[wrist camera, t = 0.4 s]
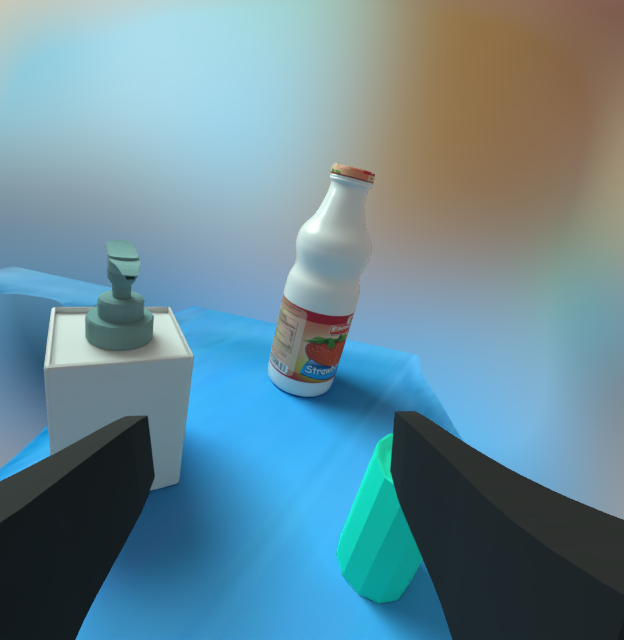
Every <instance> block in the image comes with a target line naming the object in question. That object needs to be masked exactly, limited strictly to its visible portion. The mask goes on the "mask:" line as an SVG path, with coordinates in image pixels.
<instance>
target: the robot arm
mask: <svg viewBox="0 0 624 640" xmlns="http://www.w3.org/2000/svg"><path fill="white" fill-rule="evenodd" d="M390 472H391V476H392V480H393V483H394V487H395V491H396V494H397V497H398V501H399V504H400V506H401V509H402V511H403V514H404V516H405V518H406V521H407V523H408V526H409V528H410V530H411V533H412V535H413V537H414V540H415V542H416V544H417V547H418V549H419V551H420V554H421V556H422V558H423V561H424V563H425V565H426V568H427V570H428V572H429V575H430V577H431V579H432V582H433V584H434V587H435V589H436V592H437V595H438V597H439V600H440V603H441V605H442V608H443V611H444V614H445V618H446V621H447V624H448V627H449V630H450V633H451V636H452V639H453V640H624V520H623V519H620V518H617V517H615V516H612V515H609V514H607V513H604V512H602V511H599V510H597V509H594V508H592V507H589V506H587V505H585V504H582V503H580V502H578V501H575V500H573V499H570V498H568V497H566V496H564V495H561V494H559V493H557V492H555V491H552V490H550V489H548V488H546V487H544V486H542V485H540V484H538V483H536V482H534V481H532V480H530V479H527V478H526V477H524V476H521V475H520V474H518V473H516V472H514V471H512V470H510V469H508V468H506V467H505V466H503V465H501V464H500V463H498V462H496V461H494V460H493V459H491V458H489V457H487V456H486V455H484V454H482V453H481V452H479V451H477V450H476V449H474V448H472V447H471V446H469V445H468V444H466V443H465V442H463V441H461V440H460V439H458V438H457V437H455V436H454V435H452V434H451V433H449V432H448V431H446V430H444V429H443V428H441V427H440V426H438V425H437V424H435V423H434V422H432V421H431V420H429V419H428V418H426V417H424V416H423V415H421V414H419V413H417V412H415V411H408V412H395V418H394V430H393V442H392V454H391V466H390ZM154 478H155V473H154V464H153V456H152V447H151V438H150V430H149V421H148V416H125V417H122V418H120V419H118V420H116V421H114V422H112V423H110V424H108V425H106V426H104V427H102V428H100V429H99V430H97V431H95V432H93V433H91V434H89V435H88V436H86V437H84V438H82V439H80V440H79V441H77V442H75V443H73V444H71V445H69V446H68V447H66V448H64V449H62V450H60V451H59V452H57V453H55V454H53V455H51V456H49V457H47V458H45V459H43V460H41V461H39V462H38V463H36V464H34V465H32V466H30V467H28V468H26V469H24V470H22V471H20V472H18V473H16V474H14V475H12V476H10V477H8V478H6V479H4V480H2V481H0V640H75V639H76V637H77V635H78V632H79V630H80V628H81V625H82V623H83V621H84V619H85V617H86V615H87V613H88V611H89V609H90V607H91V605H92V603H93V601H94V599H95V597H96V595H97V593H98V592H99V590H100V588H101V586H102V584H103V582H104V581H105V579H106V577H107V575H108V573H109V571H110V569H111V568H112V566H113V564H114V562H115V560H116V558H117V557H118V555H119V553H120V551H121V549H122V547H123V546H124V544H125V542H126V540H127V538H128V536H129V534H130V533H131V531H132V529H133V527H134V525H135V523H136V521H137V519H138V517H139V516H140V514H141V512H142V509H143V507H144V504H145V502H146V499H147V497H148V494H149V492H150V489H151V486H152V484H153V481H154Z"/></svg>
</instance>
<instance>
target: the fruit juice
mask: <svg viewBox="0 0 624 640" xmlns="http://www.w3.org/2000/svg"><path fill="white" fill-rule="evenodd" d="M374 176H375V174H374V173H371V172H368V171H365V170H361V169H357V168H354V167H349V166H345V165H341V164H336V163H334V164H333V166H332V168H331V174H330V179H331V185H330V188H329V190H328V193H327V195H326V197H325V199H324V201H323V202H322V204H321V206H320V207H319V209H318V211H317V212H316V213H315V214H314V216H313V217H311V218H310V219H309V220H308V221H307V222H306V223H305V224H304V225H303V226H302V227H301V229H300V231H299V233H298V236H297V240H296V262H295V265H294V266H293V268H292V269H291V270H290V272H289V275H288V278H287V281H286V285H285V289H284V294H283V299H282V304H281V308H280V313H279V317H278V322H277V327H276V331H275V336H274V340H273V345H272V350H271V354H270V359H269V364H268V374H269V377H270V379H271V381H272V382H273V383H274V384H275V385H276V386H277V387H279V388H280V389H282V390H283V391H285V392H288V393H290V394H293V395H297V396H304V397H313V396H319V395H322V394H324V393H325V392H327V391H328V390H329V388H330V387H331V385H332V383H333V380H334V377H335V374H336V371H337V367H338V364H339V361H340V358H341V354H342V351H343V348H344V345H345V341H346V338H347V335H348V332H349V328H350V325H351V322H352V318H353V315H354V312H355V309H356V306H357V302H358V298H359V292H360V285H359V279H360V276H361V274H362V272H363V270H364V269H365V267H366V266H367V264H368V262H369V259H370V255H371V249H372V245H371V241H370V237H369V234H368V232H367V228H366V224H365V202H366V195H367V192H368V190H369V189H371V186H372V183H373V182H374Z"/></svg>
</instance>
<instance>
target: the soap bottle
mask: <svg viewBox="0 0 624 640" xmlns="http://www.w3.org/2000/svg"><path fill="white" fill-rule="evenodd" d="M106 249H107V253H108V254H107V260H108V261H107V277H108V279H109V280H110V282H111V283H112V290H111V291H106V292H103V293H102V294H100V296H99V298H98V300H97V306H96V307H54V308H52V310H51V316H50V325H49V332H48V340H47V348H46V356H45V364H44V377H45V391H46V404H47V416H48V430H49V442H50V455H53V454H55V453H57V452H59V451H60V450H62V449H64V448H66V447H68V446H69V445H71V444H73V443H75V442H77V441H79V440H80V439H82V438H84V437H86V436H88V435H89V434H91V433H93V432H95V431H97V430H99V429H100V428H102V427H104V426H106V425H108V424H110V423H112V422H114V421H116V420H118V419H120V418H122V417H125V416H148V421H149V430H150V438H151V447H152V456H153V464H154V473H155V478H154V481H153V484H152V486H151V489H150V491H152V490H156V489H160V488H163V487H167V486H171V485H174V484H177V483H178V482H179V479H180V470H181V462H182V453H183V445H184V436H185V428H186V419H187V411H188V402H189V394H190V386H191V377H192V369H193V360H194V356H193V354H192V352H191V350H190V348H189V346H188V344H187V342H186V339H185V337H184V335H183V333H182V331H181V329H180V327H179V325H178V323H177V321H176V318H175V316H174V314H173V312H172V310H171V308H169V307H144V299H143V297H142V296H141V295H140V294H138V293H135V292H131V285H132V284H133V283H134V282H135V280H136V278H137V276H138V273H139V269H140V264H141V262H140V260H139V256H138V254H137V251H136V248H135V246H134V245H133V244H132V243H129V242H126V241H122V240H113V241H109V242H107V244H106Z"/></svg>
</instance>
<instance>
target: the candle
mask: <svg viewBox="0 0 624 640" xmlns="http://www.w3.org/2000/svg"><path fill="white" fill-rule="evenodd" d="M392 442H393V434H392V433H389V434H388V435H387V436H385V437H384V438H383V439H381V440H380V441H378V443H377V445H376V448H375V450H374V453H373V455H372V458H371V460H370V463H369V465H368V468H367V470H366V473H365V475H364V478H363V480H362V483H361V485H360V488H359V490H358V493H357V495H356V498H355V500H354V503H353V505H352V508H351V510H350V513H349V515H348V518H347V520H346V523H345V525H344V528H343V530H342V533H341V535H340V539H339V543H338V548H337V553H336V556H337V559H338V562H339V566H340V569H341V572H342V576H343V577H344V578H345V579H346V580H347V582H348V583H349V584H350V585H351V586H352V587H353V589H354V590H355V591H356V592H357V593H358V594H359V595H361V596H363V597H366V598H368V599H370V600H372V601H374V602H377V603H385V602H391V601H396V600H398V599H399V598H400V596H401V595H402V594H403V592H404V591H405V590H406V588H407V587H408V585H409V584H410V582H411V580H412V578H413V577H414V575H415V573H416V571H417V569H418V568H419V566H420V564H421V562H422V561H423V558H422V556H421V554H420V551H419V549H418V547H417V544H416V542H415V540H414V537H413V535H412V533H411V530H410V528H409V526H408V523H407V521H406V518H405V516H404V514H403V511H402V509H401V506H400V504H399V501H398V497H397V494H396V491H395V487H394V483H393V480H392V476H391V472H390V466H391V454H392Z"/></svg>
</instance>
